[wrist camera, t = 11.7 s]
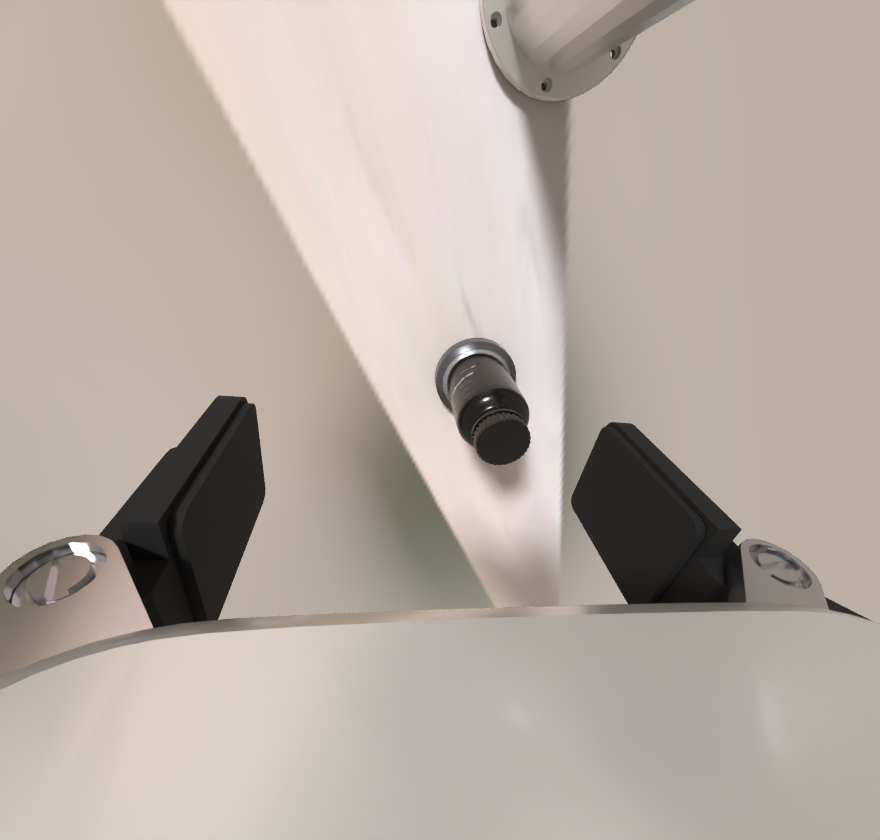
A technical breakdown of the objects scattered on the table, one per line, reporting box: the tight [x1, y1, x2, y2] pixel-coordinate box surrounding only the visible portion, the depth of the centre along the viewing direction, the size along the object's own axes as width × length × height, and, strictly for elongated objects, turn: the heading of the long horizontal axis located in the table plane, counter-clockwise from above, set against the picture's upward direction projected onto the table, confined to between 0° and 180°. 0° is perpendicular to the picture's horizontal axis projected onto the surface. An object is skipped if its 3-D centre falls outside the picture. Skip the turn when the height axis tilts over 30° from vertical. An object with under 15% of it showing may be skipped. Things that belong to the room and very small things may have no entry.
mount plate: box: [435, 338, 516, 411], centre depth 42 cm, size 9×9×2 cm
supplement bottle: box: [447, 353, 531, 465], centre depth 37 cm, size 7×7×12 cm
